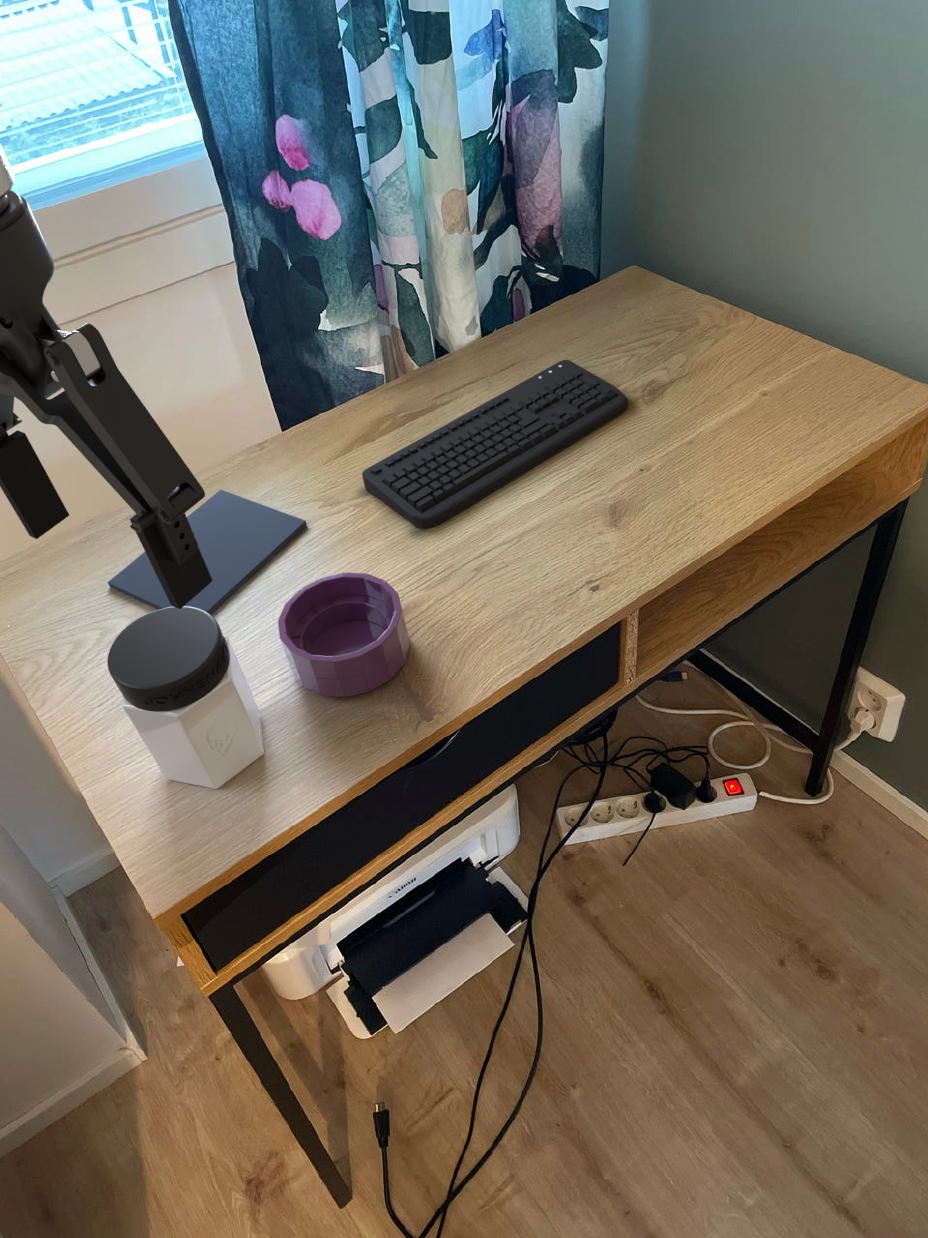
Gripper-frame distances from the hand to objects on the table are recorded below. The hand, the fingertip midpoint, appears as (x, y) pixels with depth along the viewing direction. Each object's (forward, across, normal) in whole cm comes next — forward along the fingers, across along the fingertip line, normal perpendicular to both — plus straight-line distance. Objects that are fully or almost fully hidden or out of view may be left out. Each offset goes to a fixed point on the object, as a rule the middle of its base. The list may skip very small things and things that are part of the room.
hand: (117, 557), depth 56 cm
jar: (+22, +1, -1) cm, 22 cm away
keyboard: (+22, +2, -46) cm, 51 cm away
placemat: (+21, +19, -17) cm, 33 cm away
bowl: (+22, -2, -14) cm, 26 cm away
